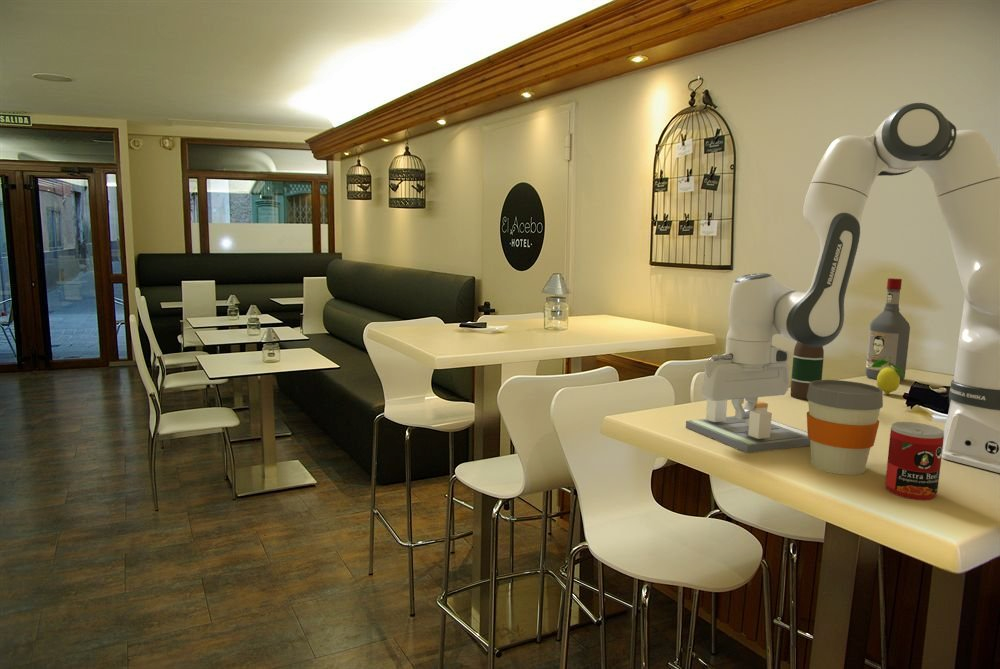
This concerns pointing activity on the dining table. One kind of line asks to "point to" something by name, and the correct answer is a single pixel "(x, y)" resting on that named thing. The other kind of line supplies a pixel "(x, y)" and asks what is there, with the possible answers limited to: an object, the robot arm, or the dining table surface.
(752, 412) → the block
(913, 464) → the canned food
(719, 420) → the block
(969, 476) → the dining table surface
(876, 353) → the liquor
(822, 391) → the reusable coffee cup
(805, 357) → the beer bottle
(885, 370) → the lemon
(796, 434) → the panel
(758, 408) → the block
